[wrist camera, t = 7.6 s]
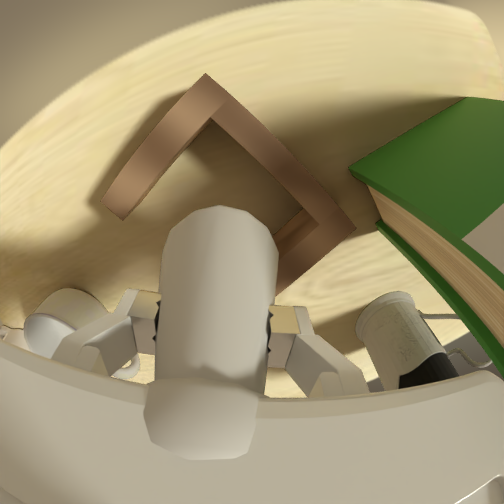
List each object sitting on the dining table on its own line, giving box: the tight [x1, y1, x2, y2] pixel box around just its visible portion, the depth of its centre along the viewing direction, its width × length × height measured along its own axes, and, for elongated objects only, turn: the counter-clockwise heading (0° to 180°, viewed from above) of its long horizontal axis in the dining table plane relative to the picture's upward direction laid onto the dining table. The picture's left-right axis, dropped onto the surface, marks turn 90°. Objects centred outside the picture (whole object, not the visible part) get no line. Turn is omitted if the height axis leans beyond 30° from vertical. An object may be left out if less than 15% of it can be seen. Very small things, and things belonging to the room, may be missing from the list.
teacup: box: [23, 288, 140, 379], centre depth 26 cm, size 14×11×8 cm
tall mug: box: [355, 291, 492, 391], centre depth 24 cm, size 9×14×15 cm, turn 124°
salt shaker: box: [143, 205, 279, 460], centre depth 10 cm, size 6×6×13 cm
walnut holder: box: [100, 73, 356, 297], centre depth 22 cm, size 12×16×4 cm
